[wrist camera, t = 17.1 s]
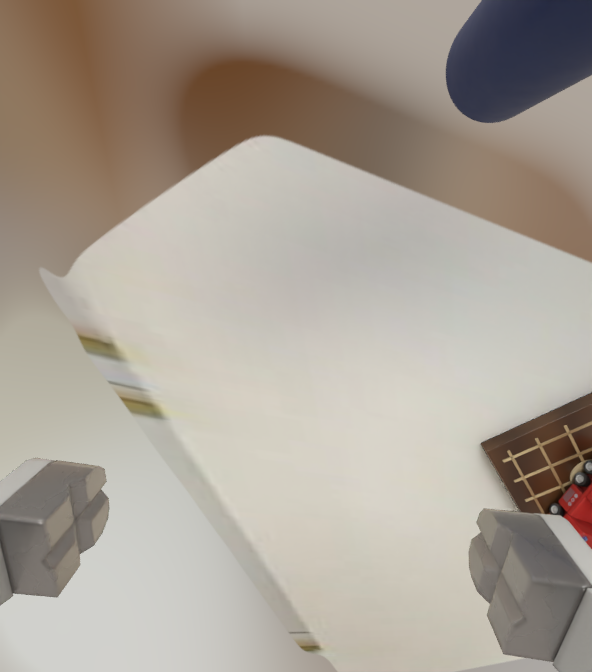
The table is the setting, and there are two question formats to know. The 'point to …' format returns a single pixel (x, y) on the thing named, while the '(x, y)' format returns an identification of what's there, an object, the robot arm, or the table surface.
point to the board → (544, 455)
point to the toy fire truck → (578, 504)
